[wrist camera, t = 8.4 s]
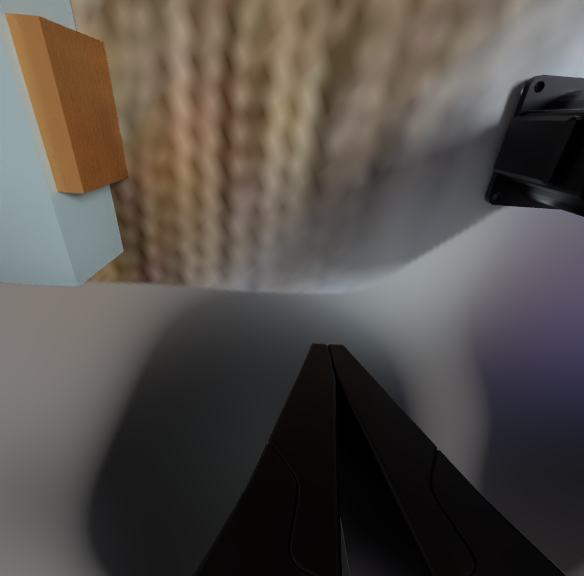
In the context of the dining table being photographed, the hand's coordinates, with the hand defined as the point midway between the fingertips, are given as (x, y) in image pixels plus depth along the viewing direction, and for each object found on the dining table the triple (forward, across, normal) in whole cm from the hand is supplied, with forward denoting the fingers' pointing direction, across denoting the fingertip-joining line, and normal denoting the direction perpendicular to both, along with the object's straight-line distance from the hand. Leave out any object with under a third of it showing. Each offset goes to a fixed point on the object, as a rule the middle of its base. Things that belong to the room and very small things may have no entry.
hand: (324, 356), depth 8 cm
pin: (+13, +14, -5) cm, 20 cm away
